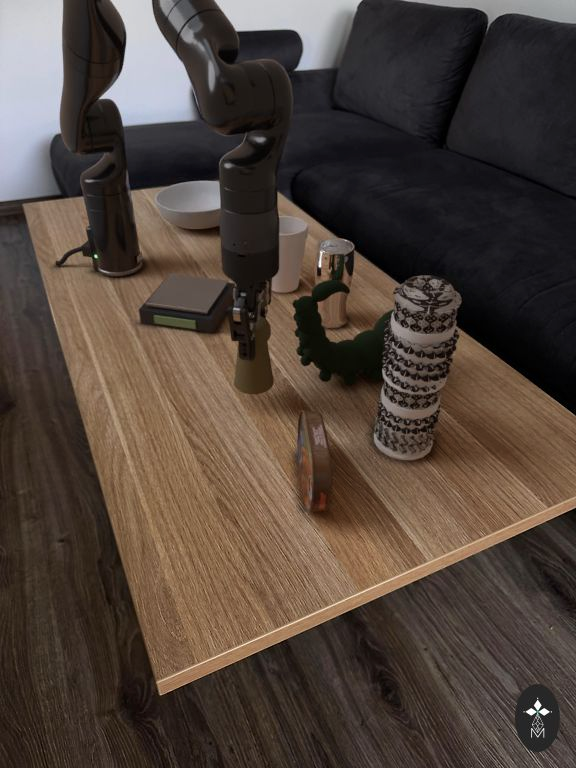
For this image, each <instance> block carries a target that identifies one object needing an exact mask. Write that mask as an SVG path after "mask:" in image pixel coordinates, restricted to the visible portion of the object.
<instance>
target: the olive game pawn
mask: <svg viewBox="0 0 576 768" xmlns="http://www.w3.org/2000/svg"><path fill="white" fill-rule="evenodd" d="M249 316H254V315H251V314H249ZM271 335H272V328H271V324H270V322H269V321H268V320H267V318H266V319H265V318H264V317H261V316H260V321H259V322H257V323H256V328H255V358H254V360H253V361H249V360H242V359H240V358H239V345H238V344H237V353H236V361H235V362H236V363H235V370H234V379H233V386H234V387H235V389H237V390H238V391H239V392H241V393H243V394H246V395H260V394H264V393H267V392H268V391H270V390H271V389H272V388H273V386H274V384H275V383H274V381H275V380H274V375H273V374H274V373H273V368H272V362H271V356H270V350H269V343H268V341H269V340H270V338H271Z"/></svg>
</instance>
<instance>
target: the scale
mask: <svg viewBox="0 0 576 768" xmlns="http://www.w3.org/2000/svg"><path fill="white" fill-rule="evenodd" d="M169 275H170V274H168V275H167V276H166V278H167V277H168V276H169ZM166 278H164V280H163V281H162V282H161V283H160V285H161V284H162V283H163V282H164V281H165V280H166ZM228 283H229V284H228V286H227V287H226V288H225V290H224V291H223V293H222V294H221V296H220V297H219V299H218V300H217V302H216V303H215V305H214V306H213V308H212V309H211V311H210V312H209V314H208V315H206V314H199V313H192V312H184V311H177V310H170V309H162V308H155V307H147V306H146V301H145V302H144V303H143V304H142V305H141V306H140V307H139V309H138V312H139V313H138V314H139V318H140V319H139V320H140V324H143V325H144V324H145V325H150V326H158V327H165V328H170V329H178V330H184V331H185V330H186V331H192V332H199V333H207V334H213V333H214V332H215V330H216V329H217V327H218V326H219V324H220V322H221V321H222V319H223V317H224V316H225V315H226V314H227V308H228V306H232V304H233V303H234V299H233V290H234V287H235V286H236V283H235V282H228ZM158 288H159V286H158V287H157V288H156V289H155V290H154V291H153V293H154V292H155V291H156V290H157V289H158ZM153 293H152V294H151V295H150V296H149V297H148V298H147V300H148V299H149V298H150V297H151V296H152V295H153Z"/></svg>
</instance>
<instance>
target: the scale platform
mask: <svg viewBox="0 0 576 768" xmlns="http://www.w3.org/2000/svg"><path fill="white" fill-rule="evenodd" d="M168 275H169V276H168ZM168 275H167V276H168V277H167V276H166V277H165V279H166V280H165V279H164V280H165V281H164V280H163V281H164V282H163V281H162V282H163V283H162V282H161V283H162V284H161V283H160V284H159V286H158V287H159V288H158V287H157V288H158V289H157V288H156V289H157V290H156V289H155V290H156V291H155V290H154V291H155V292H154V291H153V293H152V294H153V295H152V294H151V295H152V296H151V295H150V296H151V297H150V296H149V297H150V298H149V297H148V298H149V299H148V298H147V299H146V300H145V302H146V306H147V307H155V308H162V309H170V310H177V311H184V312H192V313H199V314H206V315H208V314H209V312H210V311H211V309H212V308H213V306H214V305H215V303H216V302H217V300H218V299H219V297H220V296H221V294H222V293H223V291H224V290H225V288H226V287H227V286H228V284H229V283H230V282H229V280H227V279H220V278H212V277H203V276H196V275H187V274H179V273H172V272H171V273H170V274H168Z"/></svg>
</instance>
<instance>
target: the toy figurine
mask: <svg viewBox="0 0 576 768" xmlns="http://www.w3.org/2000/svg"><path fill="white" fill-rule="evenodd" d="M337 292H344V293H346V294H348V295H349V294H350V293H351V288H350V289H349V287H348V286H347V285H346V284H344V283H343V282H340V281H338V280H328V281H323V282H321V283H319V284H317V285H316V284H315V286H313V288H312V289H311V295H303V296H300V297H299V298H298V299H294V300H293V301H292V302H291V304H292V307H293V308H294V311H295V312H294V314H293V316H292V319H293V320H294V321H295V326H297V328H296V329H295V330H294V336H295V337H296V338H298V341H299V342H298V347H296V354H297V356H299V357H300V359H299V363H300V365H302V366H303V367H307V366H310V364H311V363H313V365H314V367H315V368H317V369H319V370H320V371H319V372H318V379H320V381H321V382H324V383H327V382H329V381H331V380H332V376H333V375H332V374H336V375H337V376H339V377H342V378H343V379H344V383H345V385H348V386H354V385H356V383H357V381H358V377H357V376H359V375H361V374H362V373H363V372H365V373H368V376H369V378H370V379H371V380H372V381H375V382H376V381H377V382H378V381H379V382H380V381H381V380H384V378H383V373H382V366H383V364H384V363H383V361H382V360H383V358H384V355H383V351H384V350H385V349H384V343H385V340H384V336H385V335H386V333H385V327H387V326H386V325H385V322H386V320H388V319H389V316H390V314H392V313H393V311H394V308H393V309H391V310H389V311H387V312H385V313H383V314H382V315H381V316H380V317H379V318H378V319H377V321H376V323H375V324H374V327H373V329H366V330H364V331H361V332H360V333H359V332H358V334H356V335H355V337H353V338H352V339H343V340H340V341H338V342H335V341H332V340H330V338H329V337H328V336H327V333H326V328H325V327H323V326H322V325H321V324H322V318H321V315H320V313H319V312H318V302H321V301H324V300H325V299H327V298H328V297H329V296H331V295H333V294H334V293H337ZM390 327H391V325H390Z"/></svg>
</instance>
